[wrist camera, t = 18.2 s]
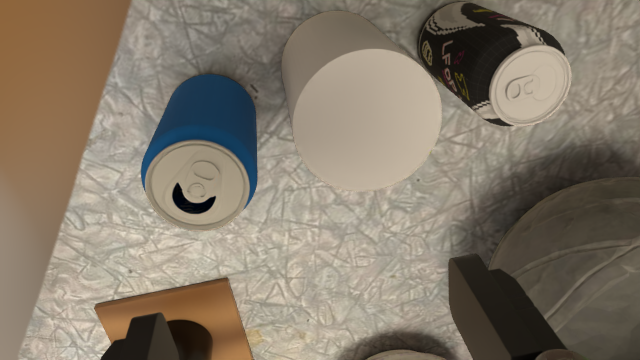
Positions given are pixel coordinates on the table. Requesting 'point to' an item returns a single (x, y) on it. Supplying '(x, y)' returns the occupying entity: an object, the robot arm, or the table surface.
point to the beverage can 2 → (496, 64)
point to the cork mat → (185, 315)
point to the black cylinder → (191, 340)
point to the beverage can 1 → (203, 155)
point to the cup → (357, 103)
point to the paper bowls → (404, 355)
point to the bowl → (582, 265)
